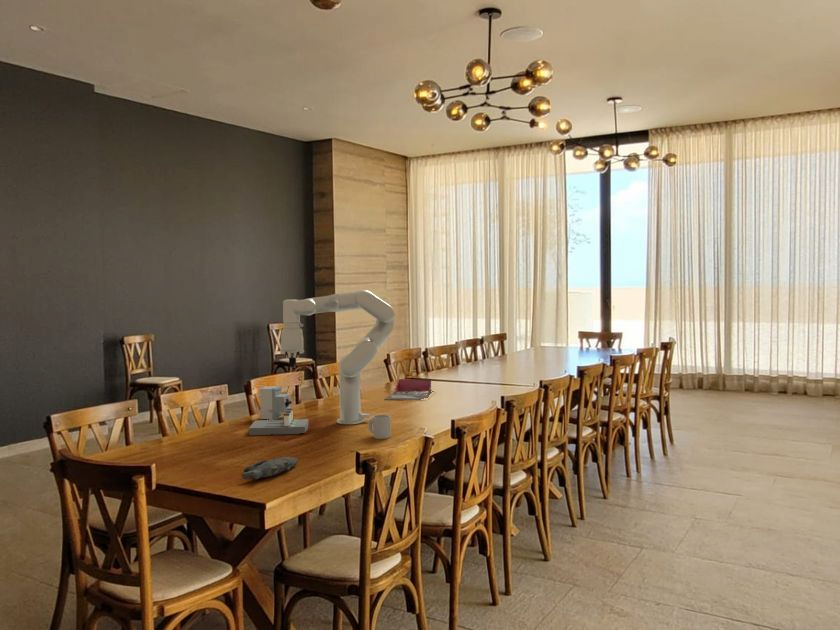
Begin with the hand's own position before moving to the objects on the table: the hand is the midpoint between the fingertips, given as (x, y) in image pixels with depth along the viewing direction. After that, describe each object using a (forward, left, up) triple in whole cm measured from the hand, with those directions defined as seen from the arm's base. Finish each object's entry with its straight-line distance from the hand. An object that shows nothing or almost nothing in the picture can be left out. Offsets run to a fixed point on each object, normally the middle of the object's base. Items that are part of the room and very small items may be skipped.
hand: (292, 366), depth 322 cm
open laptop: (-59, -75, -28) cm, 99 cm away
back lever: (+1, +6, -24) cm, 25 cm away
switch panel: (+5, +12, -27) cm, 30 cm away
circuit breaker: (+10, -16, -27) cm, 33 cm away
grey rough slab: (+1, +83, -28) cm, 87 cm away
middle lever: (+1, +12, -24) cm, 27 cm away
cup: (-39, +31, -27) cm, 57 cm away
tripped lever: (+1, +18, -24) cm, 30 cm away
